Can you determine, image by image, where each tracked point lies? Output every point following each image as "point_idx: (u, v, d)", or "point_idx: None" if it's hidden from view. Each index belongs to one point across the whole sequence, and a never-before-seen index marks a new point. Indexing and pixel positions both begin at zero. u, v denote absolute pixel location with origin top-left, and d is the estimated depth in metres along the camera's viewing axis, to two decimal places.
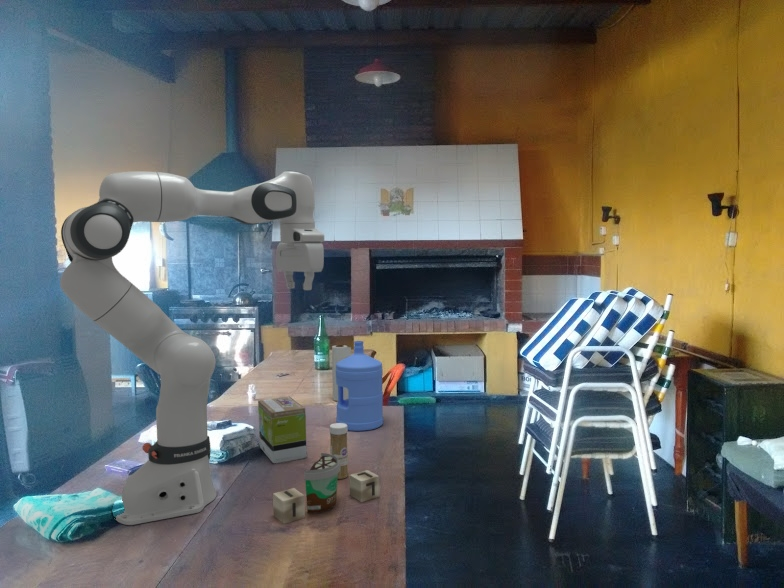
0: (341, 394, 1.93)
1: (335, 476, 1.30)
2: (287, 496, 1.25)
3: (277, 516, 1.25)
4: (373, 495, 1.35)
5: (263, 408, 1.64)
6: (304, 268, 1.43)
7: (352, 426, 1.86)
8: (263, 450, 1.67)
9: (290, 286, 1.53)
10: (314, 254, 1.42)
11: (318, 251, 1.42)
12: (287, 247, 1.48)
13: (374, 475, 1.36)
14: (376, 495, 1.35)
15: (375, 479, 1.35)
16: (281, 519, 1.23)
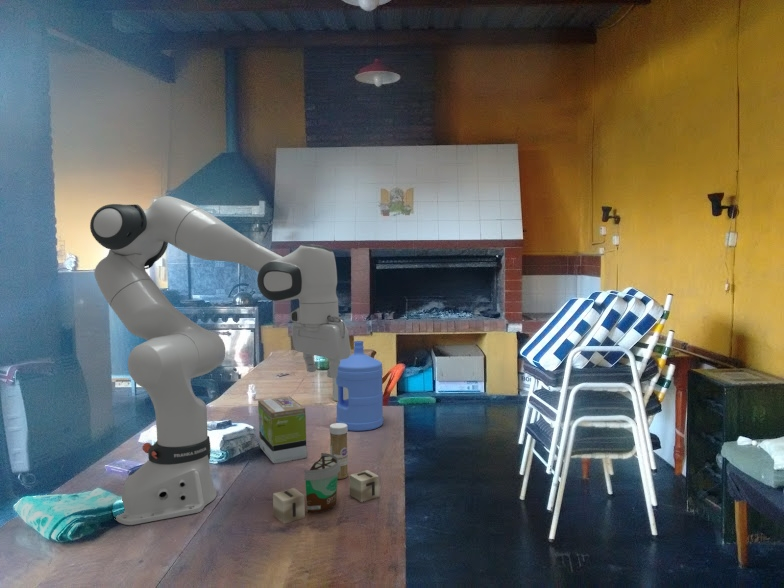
0: (341, 394, 1.93)
1: (335, 476, 1.30)
2: (287, 496, 1.25)
3: (277, 516, 1.25)
4: (373, 495, 1.35)
5: (263, 408, 1.64)
6: None
7: (352, 426, 1.86)
8: (263, 450, 1.67)
9: None
10: None
11: None
12: None
13: (374, 475, 1.36)
14: (376, 495, 1.35)
15: (375, 479, 1.35)
16: (281, 519, 1.23)
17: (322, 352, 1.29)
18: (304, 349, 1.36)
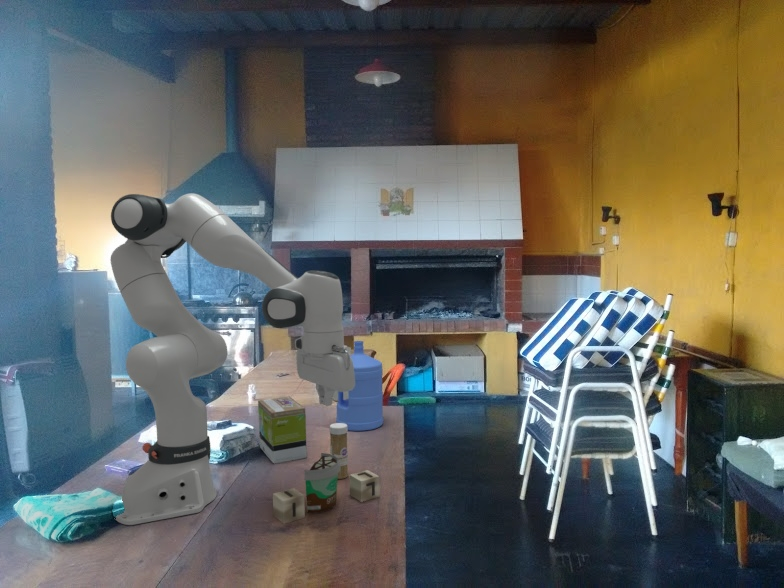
0: (341, 394, 1.93)
1: (335, 476, 1.30)
2: (287, 496, 1.25)
3: (277, 516, 1.25)
4: (373, 495, 1.35)
5: (263, 408, 1.64)
6: None
7: (352, 426, 1.86)
8: (263, 450, 1.67)
9: None
10: None
11: None
12: None
13: (374, 475, 1.36)
14: (376, 495, 1.35)
15: (375, 479, 1.35)
16: (281, 519, 1.23)
17: (326, 382, 1.26)
18: (308, 378, 1.32)
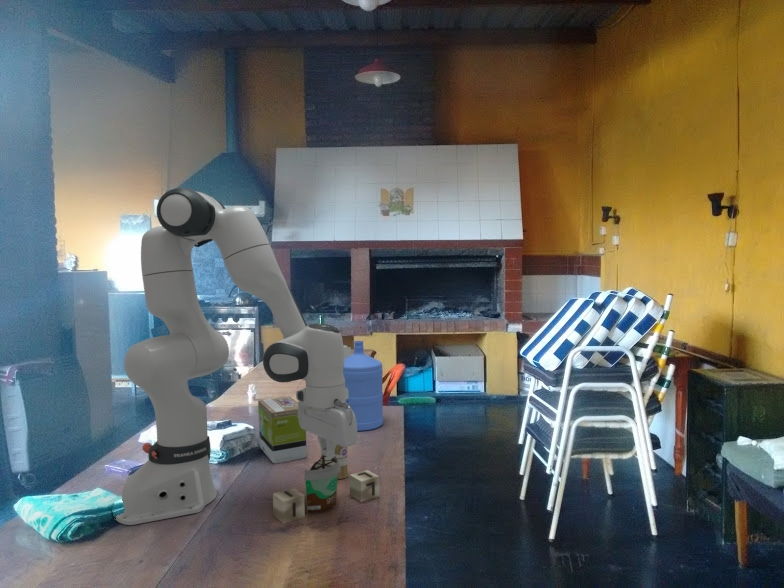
0: None
1: (335, 476, 1.30)
2: (287, 496, 1.25)
3: (277, 516, 1.25)
4: (373, 495, 1.35)
5: (263, 408, 1.64)
6: None
7: None
8: (263, 450, 1.67)
9: None
10: None
11: None
12: None
13: (374, 475, 1.36)
14: (376, 495, 1.35)
15: (375, 479, 1.35)
16: (281, 519, 1.23)
17: (328, 436, 1.27)
18: (310, 430, 1.33)
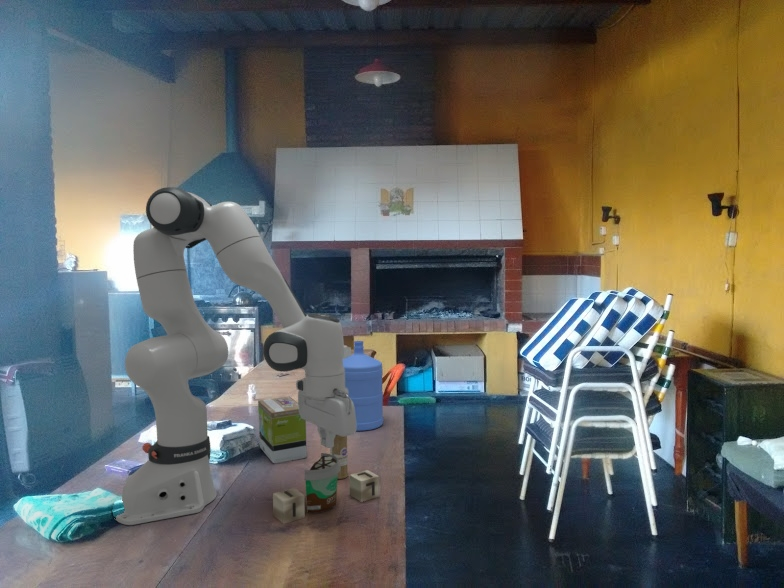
0: None
1: (335, 476, 1.30)
2: (287, 496, 1.25)
3: (277, 516, 1.25)
4: (372, 495, 1.35)
5: (263, 408, 1.64)
6: None
7: None
8: (263, 450, 1.67)
9: None
10: None
11: None
12: None
13: (374, 475, 1.36)
14: (376, 495, 1.35)
15: (375, 479, 1.35)
16: (281, 519, 1.23)
17: (327, 426, 1.26)
18: (310, 419, 1.33)
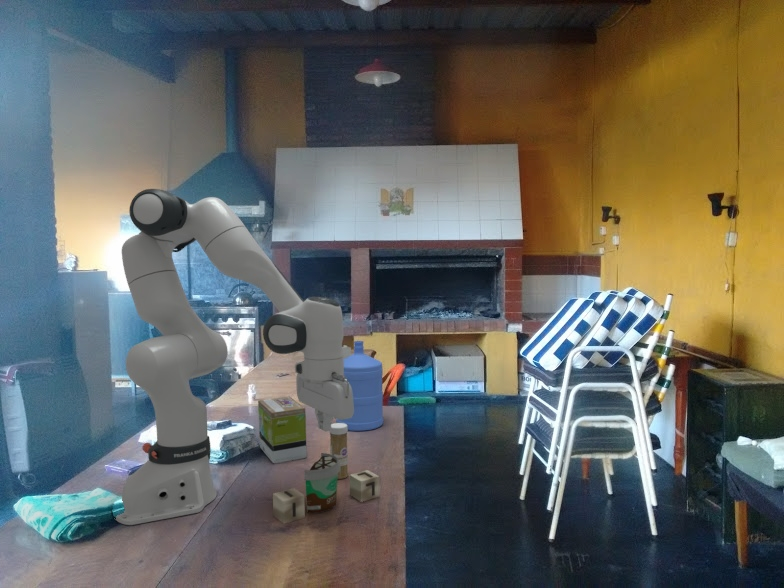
0: None
1: (335, 476, 1.30)
2: (287, 496, 1.25)
3: (277, 516, 1.25)
4: (372, 495, 1.35)
5: (263, 408, 1.64)
6: None
7: (352, 426, 1.86)
8: (263, 450, 1.67)
9: None
10: None
11: None
12: None
13: (374, 475, 1.36)
14: (376, 495, 1.35)
15: (375, 479, 1.35)
16: (281, 519, 1.23)
17: (325, 409, 1.27)
18: (308, 403, 1.33)
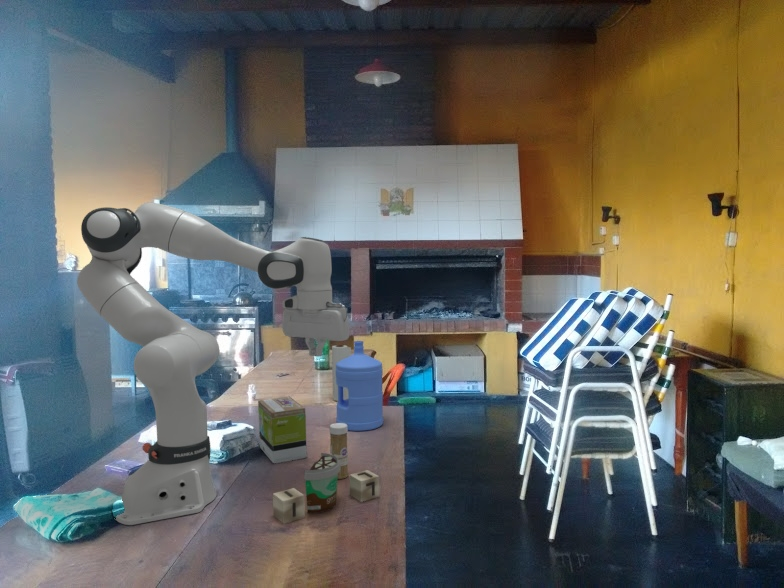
0: (341, 394, 1.93)
1: (335, 476, 1.30)
2: (287, 496, 1.25)
3: (277, 516, 1.25)
4: (372, 495, 1.35)
5: (263, 408, 1.64)
6: None
7: (352, 426, 1.86)
8: (263, 450, 1.67)
9: None
10: None
11: None
12: None
13: (374, 475, 1.36)
14: (376, 495, 1.35)
15: (375, 479, 1.35)
16: (281, 519, 1.23)
17: (321, 335, 1.43)
18: (297, 334, 1.48)
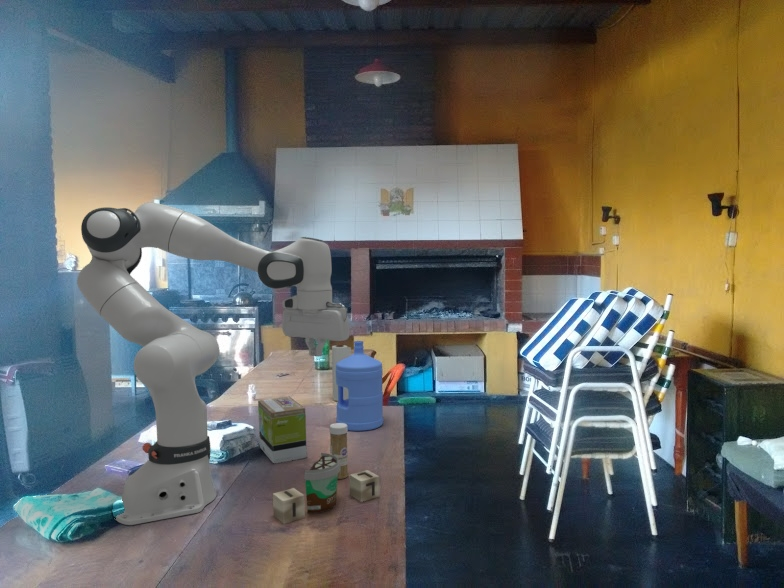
0: (341, 394, 1.93)
1: (335, 476, 1.30)
2: (287, 496, 1.25)
3: (277, 516, 1.25)
4: (372, 495, 1.35)
5: (263, 408, 1.64)
6: None
7: (352, 426, 1.86)
8: (263, 450, 1.67)
9: None
10: None
11: None
12: None
13: (374, 475, 1.36)
14: (376, 495, 1.35)
15: (375, 479, 1.35)
16: (281, 519, 1.23)
17: (321, 335, 1.43)
18: (297, 334, 1.48)
